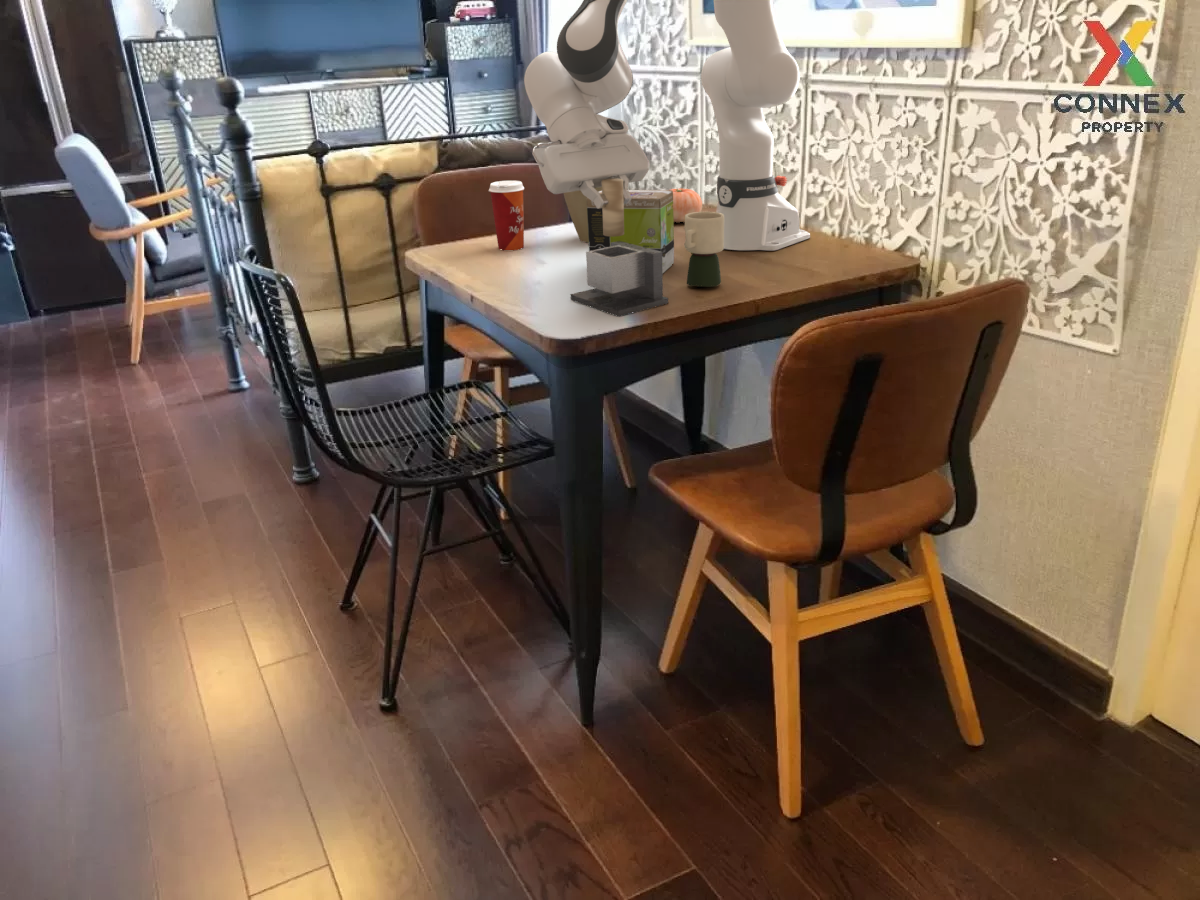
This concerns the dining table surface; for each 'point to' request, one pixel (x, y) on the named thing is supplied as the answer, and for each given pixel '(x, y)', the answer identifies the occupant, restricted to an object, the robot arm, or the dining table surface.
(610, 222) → the tan wooden cylinder
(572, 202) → the plant pot
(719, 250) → the character mug
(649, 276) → the grey box holder
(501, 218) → the paper cup
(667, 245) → the tea box
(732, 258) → the dining table surface
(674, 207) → the orange pumpkin
